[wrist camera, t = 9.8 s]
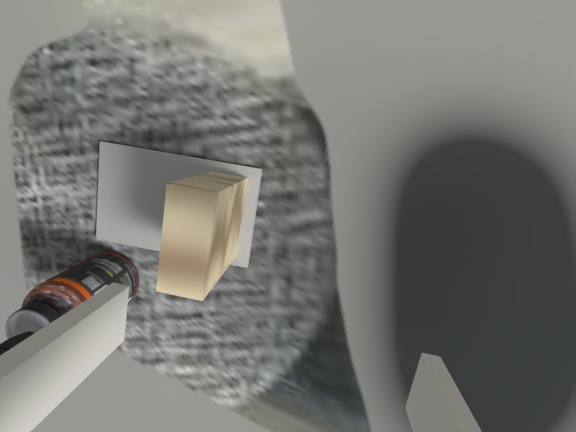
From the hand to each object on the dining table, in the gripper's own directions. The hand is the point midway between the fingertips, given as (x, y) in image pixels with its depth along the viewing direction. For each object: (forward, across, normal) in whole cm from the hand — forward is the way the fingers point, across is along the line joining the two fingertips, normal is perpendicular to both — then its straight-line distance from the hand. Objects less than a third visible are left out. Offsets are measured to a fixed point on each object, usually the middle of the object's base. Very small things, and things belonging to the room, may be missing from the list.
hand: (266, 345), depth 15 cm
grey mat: (+19, -12, 0) cm, 23 cm away
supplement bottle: (+20, -18, -9) cm, 28 cm away
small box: (+19, -8, +1) cm, 20 cm away
